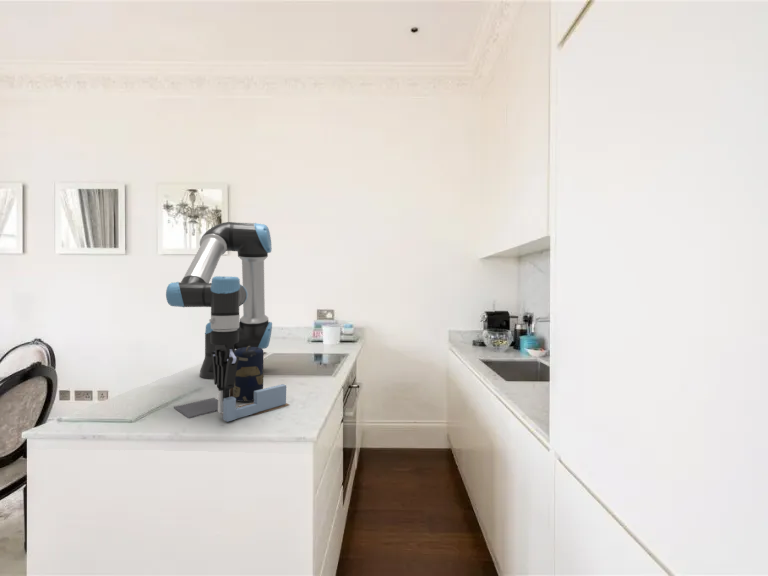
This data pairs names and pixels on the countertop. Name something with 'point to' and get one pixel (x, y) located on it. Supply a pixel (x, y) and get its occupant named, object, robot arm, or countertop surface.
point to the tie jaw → (255, 402)
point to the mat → (198, 408)
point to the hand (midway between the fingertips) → (223, 411)
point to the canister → (248, 373)
